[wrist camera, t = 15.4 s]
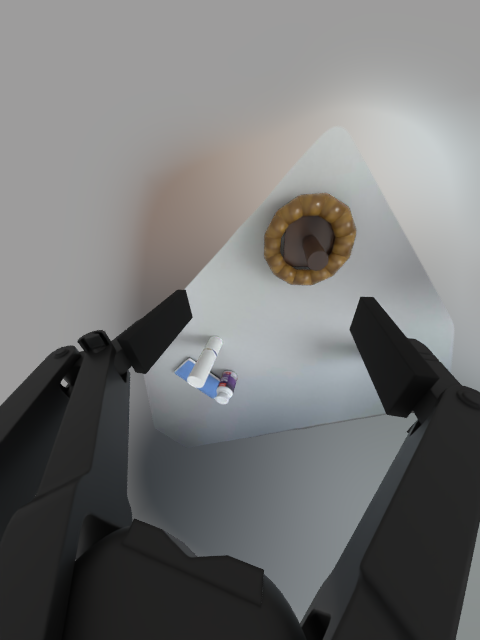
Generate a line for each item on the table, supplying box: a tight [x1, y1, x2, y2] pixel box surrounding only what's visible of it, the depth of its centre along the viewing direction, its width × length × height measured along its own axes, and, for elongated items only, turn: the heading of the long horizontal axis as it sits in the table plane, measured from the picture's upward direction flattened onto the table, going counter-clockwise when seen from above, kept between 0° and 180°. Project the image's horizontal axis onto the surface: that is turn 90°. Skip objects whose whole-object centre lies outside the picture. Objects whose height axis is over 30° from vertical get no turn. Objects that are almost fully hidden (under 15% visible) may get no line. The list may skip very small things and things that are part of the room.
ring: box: [264, 193, 356, 285], centre depth 32 cm, size 15×15×3 cm
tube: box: [187, 336, 223, 388], centre depth 49 cm, size 4×4×15 cm
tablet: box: [174, 358, 220, 399], centre depth 66 cm, size 19×13×1 cm, turn 50°
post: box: [283, 216, 335, 271], centre depth 29 cm, size 9×9×14 cm
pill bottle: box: [216, 371, 237, 404], centre depth 58 cm, size 5×5×10 cm
